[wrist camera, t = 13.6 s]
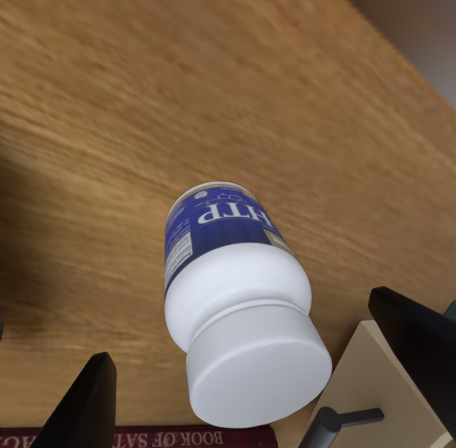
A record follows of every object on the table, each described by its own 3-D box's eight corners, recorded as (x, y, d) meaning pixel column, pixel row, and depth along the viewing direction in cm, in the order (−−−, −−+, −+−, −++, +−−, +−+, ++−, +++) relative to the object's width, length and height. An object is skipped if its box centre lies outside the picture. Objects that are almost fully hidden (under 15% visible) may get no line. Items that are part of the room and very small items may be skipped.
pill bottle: (277, 193, 15) (395, 332, 7) (241, 269, 17) (303, 437, 9) (179, 165, 13) (201, 310, 5) (153, 255, 15) (143, 446, 8)
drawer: (263, 424, 26) (294, 539, 20) (301, 324, 19) (366, 448, 13) (428, 398, 30) (496, 485, 24) (504, 310, 24) (622, 397, 18)
